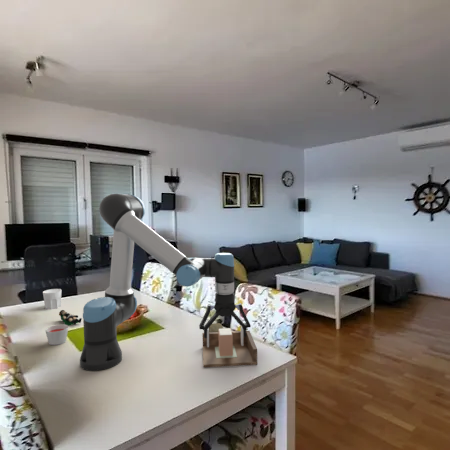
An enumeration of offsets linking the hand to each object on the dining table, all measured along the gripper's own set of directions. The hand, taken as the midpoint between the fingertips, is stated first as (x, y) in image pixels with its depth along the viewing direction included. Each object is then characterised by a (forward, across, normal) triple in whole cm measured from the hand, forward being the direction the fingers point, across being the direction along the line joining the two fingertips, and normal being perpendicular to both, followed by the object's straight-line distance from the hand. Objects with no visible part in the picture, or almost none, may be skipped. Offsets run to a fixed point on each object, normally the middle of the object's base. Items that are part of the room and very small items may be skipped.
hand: (225, 345), depth 130 cm
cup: (+5, -98, +74) cm, 123 cm away
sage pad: (+3, 0, 0) cm, 3 cm away
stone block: (+4, -2, +18) cm, 19 cm away
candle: (+4, -73, +20) cm, 76 cm away
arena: (+4, +1, 0) cm, 4 cm away
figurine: (+5, -77, +46) cm, 90 cm away
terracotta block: (+3, 0, 0) cm, 3 cm away
